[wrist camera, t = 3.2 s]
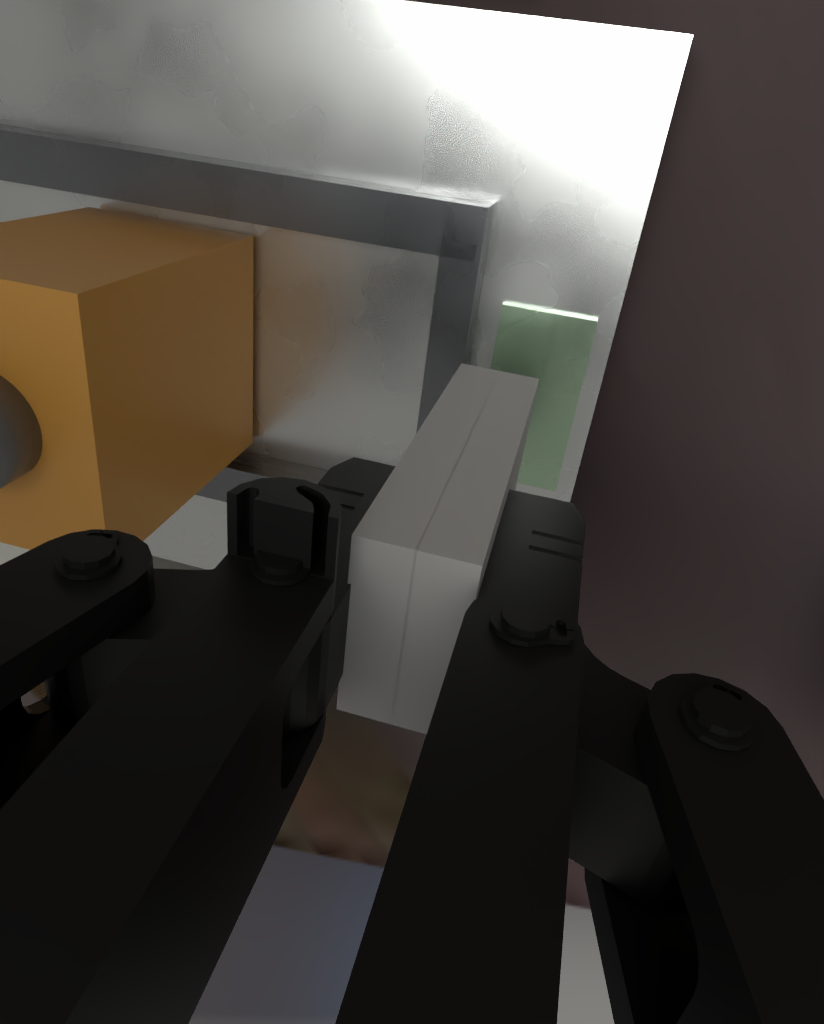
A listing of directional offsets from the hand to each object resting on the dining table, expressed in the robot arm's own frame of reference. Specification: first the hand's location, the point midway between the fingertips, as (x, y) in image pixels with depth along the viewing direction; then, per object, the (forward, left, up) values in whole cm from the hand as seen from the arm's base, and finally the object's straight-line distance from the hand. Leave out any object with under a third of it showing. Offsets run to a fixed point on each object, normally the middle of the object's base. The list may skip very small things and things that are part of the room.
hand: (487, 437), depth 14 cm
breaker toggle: (-8, 0, -3) cm, 8 cm away
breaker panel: (-8, 0, -5) cm, 9 cm away
